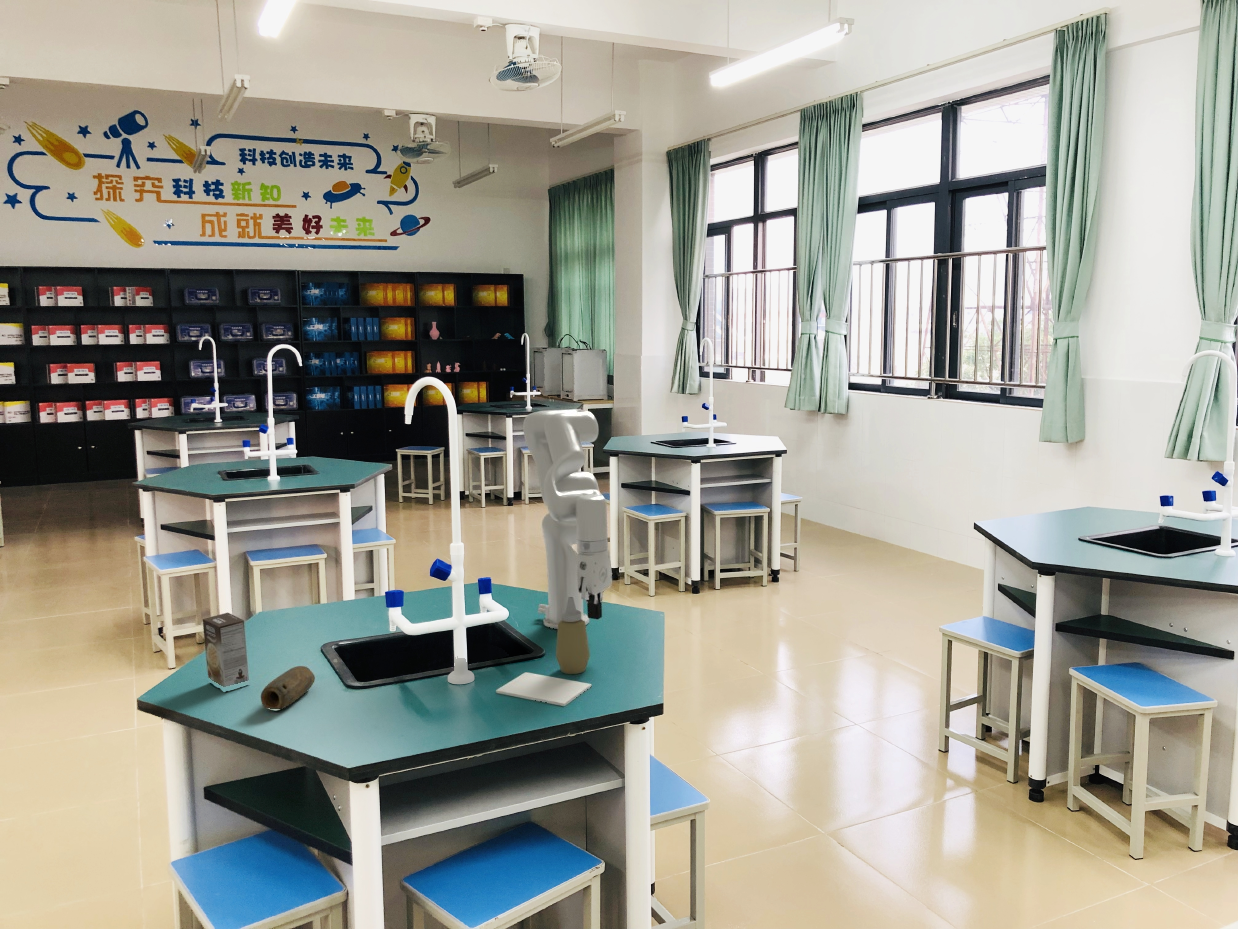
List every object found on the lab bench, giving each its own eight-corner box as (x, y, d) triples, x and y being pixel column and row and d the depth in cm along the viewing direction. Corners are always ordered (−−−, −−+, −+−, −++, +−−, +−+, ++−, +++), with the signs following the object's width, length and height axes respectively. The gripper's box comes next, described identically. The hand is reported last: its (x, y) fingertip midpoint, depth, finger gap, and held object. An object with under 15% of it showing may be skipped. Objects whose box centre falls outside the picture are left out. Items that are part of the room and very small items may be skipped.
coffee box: (207, 683, 224) (200, 618, 221) (233, 676, 228) (227, 611, 226) (224, 693, 217) (218, 626, 215) (251, 685, 222) (245, 619, 220)
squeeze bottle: (595, 666, 228) (593, 594, 225) (580, 678, 221) (578, 604, 218) (566, 662, 231) (563, 591, 228) (550, 674, 224) (547, 600, 221)
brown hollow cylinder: (291, 715, 205) (288, 685, 204) (259, 714, 205) (257, 685, 204) (318, 688, 219) (316, 660, 218) (289, 688, 220) (286, 660, 219)
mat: (496, 692, 213) (496, 690, 213) (525, 674, 224) (525, 672, 224) (564, 706, 205) (564, 703, 205) (591, 686, 216) (591, 684, 215)
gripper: (590, 553, 223) (593, 628, 226) (620, 540, 236) (622, 611, 239) (563, 551, 226) (566, 624, 229) (594, 537, 239) (596, 607, 242)
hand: (594, 617), depth 234 cm, fingers closed
